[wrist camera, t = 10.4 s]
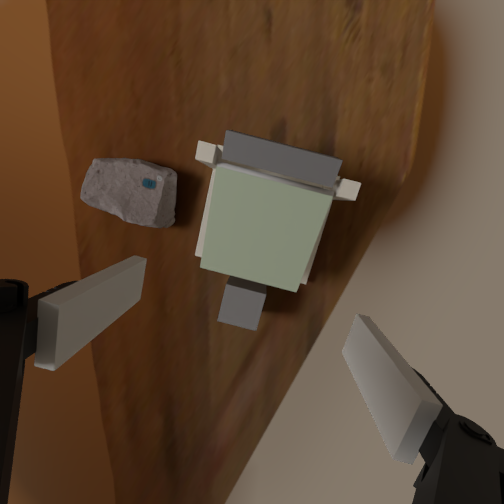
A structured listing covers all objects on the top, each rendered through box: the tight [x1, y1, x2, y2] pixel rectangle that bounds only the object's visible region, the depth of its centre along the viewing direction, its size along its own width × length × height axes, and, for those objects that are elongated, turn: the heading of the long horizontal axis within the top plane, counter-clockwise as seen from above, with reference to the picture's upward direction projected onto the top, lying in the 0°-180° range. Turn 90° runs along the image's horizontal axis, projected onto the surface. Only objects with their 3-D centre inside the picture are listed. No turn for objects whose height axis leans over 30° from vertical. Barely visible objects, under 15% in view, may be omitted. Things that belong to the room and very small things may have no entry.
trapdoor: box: [200, 130, 343, 292], centre depth 33 cm, size 18×14×3 cm
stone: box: [81, 158, 177, 228], centre depth 39 cm, size 13×10×6 cm
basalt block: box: [217, 275, 266, 331], centre depth 41 cm, size 6×6×7 cm
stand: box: [195, 141, 361, 284], centre depth 36 cm, size 18×19×12 cm
